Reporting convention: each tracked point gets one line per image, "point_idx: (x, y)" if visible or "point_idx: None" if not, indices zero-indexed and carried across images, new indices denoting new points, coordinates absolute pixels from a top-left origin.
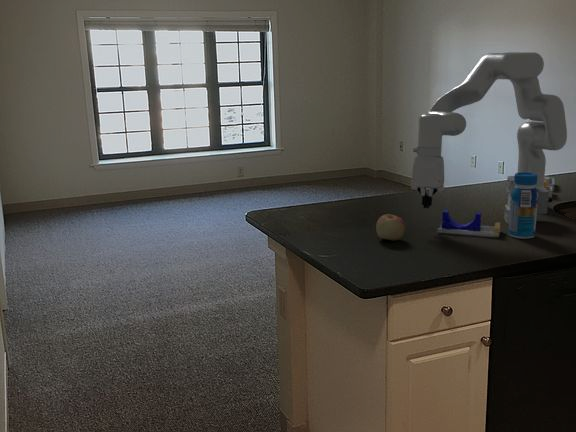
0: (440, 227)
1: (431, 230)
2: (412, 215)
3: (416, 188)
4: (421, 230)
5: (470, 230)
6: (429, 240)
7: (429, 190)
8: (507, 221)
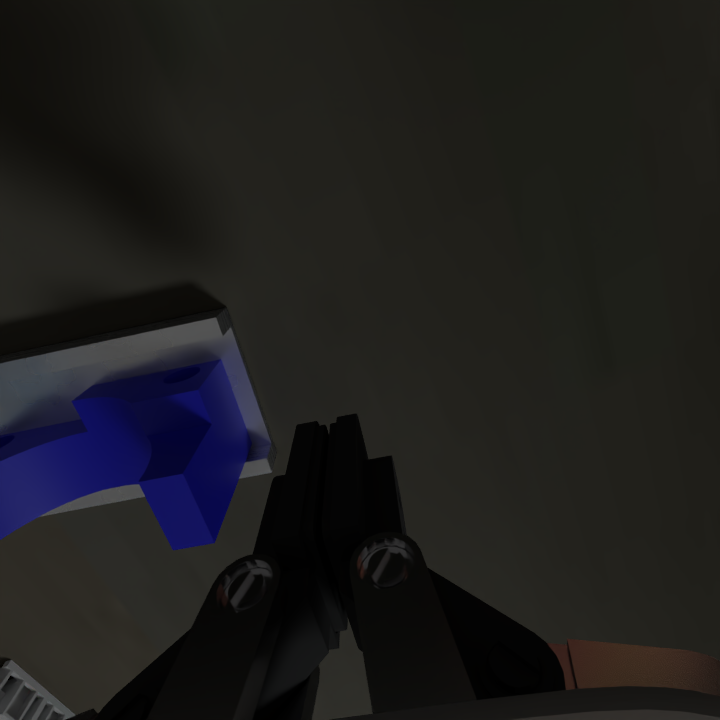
0: (264, 428)
1: (297, 352)
2: (529, 587)
3: (586, 685)
4: (361, 318)
5: (36, 431)
6: (175, 52)
7: (243, 679)
8: (6, 672)
